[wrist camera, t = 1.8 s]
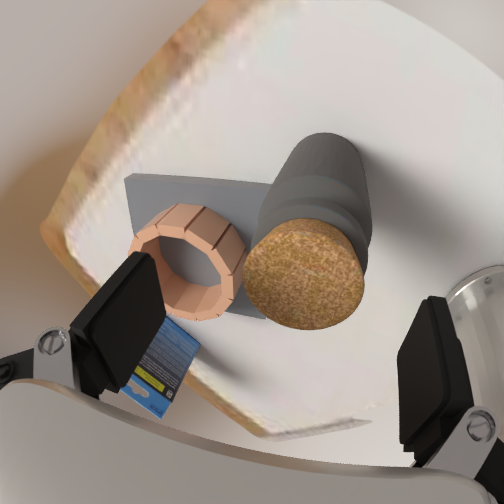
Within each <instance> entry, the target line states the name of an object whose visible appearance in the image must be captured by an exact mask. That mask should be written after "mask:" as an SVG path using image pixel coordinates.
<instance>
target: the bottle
mask: <svg viewBox="0 0 504 504" xmlns="http://www.w3.org/2000/svg"><path fill="white" fill-rule="evenodd" d="M371 236H372V217H371V209H370V203H369V197H368V191H367V185H366V180H365V175H364V170H363V165H362V162H361V158H360V156H359V154H358V152H357V150H356V149H355V147H354V146H353V145H352V144H351V143H350V142H349V141H347V140H346V139H344V138H343V137H341V136H338V135H336V134H332V133H316V134H313V135H310V136H308V137H306V138H304V139H303V140H302V141H300V142H299V143H298V144H297V146H296V147H295V148H294V149H293V151H292V153H291V154H290V156H289V157H288V159H287V161H286V162H285V164H284V166H283V167H282V169H281V171H280V172H279V174H278V176H277V177H276V179H275V181H274V182H273V184H272V186H271V187H270V189H269V191H268V193H267V195H266V197H265V199H264V200H263V202H262V205H261V208H260V211H259V215H258V227H257V229H256V231H255V233H254V236H253V239H252V242H251V252H250V253H249V255H248V256H247V259H246V261H245V264H244V267H243V285H244V289H245V291H246V293H247V295H248V297H249V299H250V301H251V302H252V304H253V305H254V306H255V307H256V308H257V309H258V310H259V311H260V312H261V313H262V314H263V315H265V316H266V317H267V318H269V319H271V320H273V321H274V322H276V323H278V324H281V325H284V326H286V327H289V328H295V329H300V330H317V329H324V328H327V327H331V326H334V325H336V324H338V323H340V322H342V321H344V320H345V319H347V318H348V317H349V316H350V315H351V314H352V313H353V312H354V311H355V310H356V308H357V307H358V305H359V304H360V302H361V299H362V297H363V293H364V286H365V284H364V275H365V272H366V269H367V264H368V247H369V244H370V241H371Z"/></svg>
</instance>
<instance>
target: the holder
mask: <svg viewBox="0 0 504 504" xmlns="http://www.w3.org/2000/svg"><path fill="white" fill-rule="evenodd" d="M124 182H125V188H126V194H127V200H128V206H129V212H130V217H131V223H132V228H133V233H134V238H133V241H132V244H131V247H130V250H129V252H128V255H129V256H130V255H131V254H132V253H133V252H134V251H139V252H145V253H149V254H150V255H151V257H152V258H154V259H155V263H156V268H157V273H158V277H159V282H160V287H161V291H162V296H163V300H164V304H165V309H166V312H168V313H170V314H172V313H173V315H174V316H177V317H181V318H185V319H189V320H193V321H197V320H198V321H203V320H207V319H212V318H217V317H219V315H220V316H221V315H222V314H223V312H224V311H225V312H230V313H235V314H240V315H245V316H250V317H255V318H260V319H266V316H265V315H263V314H262V313H261V312H260V311H259V310H258V309H257V308H256V307H255V306H254V305H253V304H252V302H251V301H250V299H249V297H248V295H247V293H246V291H245V289H244V285H243V267H244V264H245V261H246V259H247V256H248V255H249V253H250V252H251V242H252V239H253V236H254V233H255V231H256V229H257V227H258V215H259V211H260V208H261V205H262V202H263V200H264V199H265V197H266V195H267V193H268V191H269V189H270V187H271V186H272V184H264V183H255V182H245V181H235V180H224V179H212V178H200V177H186V176H171V175H154V174H131V175H130V176H128V177H126V178H125V179H124ZM129 256H128V257H129Z"/></svg>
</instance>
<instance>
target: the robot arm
mask: <svg viewBox="0 0 504 504" xmlns="http://www.w3.org/2000/svg"><path fill="white" fill-rule="evenodd" d="M165 318H166V309H165V304H164V300H163V296H162V291H161V287H160V282H159V277H158V273H157V268H156V263H155V259H154V258H152V257H151V255H150V254H149V253H145V252H139V251H134V252H133V253H132V254H131V255H130V256H129V257H128V258H127V259H126V260H125V261H124V262H123V263H122V265H121V266H120V267H119V268H118V269H117V270H116V271H115V272H114V274H113V275H112V276H111V277H110V278H109V279H108V280H107V281H106V283H105V284H104V285H103V286H102V287H101V288H100V289H99V291H98V292H97V293H96V294H95V295H94V296H93V298H92V299H91V300H90V301H89V302H88V304H87V305H86V306H85V307H84V308H83V310H82V311H81V312H80V313H79V314H78V316H77V317H76V318H75V319H74V321H73V322H72V323H71V324H70V327H71V328H70V330H69V331H67V330H66V329H64V328H62V327H51V328H49V329H46V330H45V331H43V332H42V333H41V334H40V335H39V336H38V337H37V339H36V341H35V345H34V348H32V349H29V350H26V351H23V352H20V353H17V354H14V355H10V356H7V357H4V358H2V359H0V504H504V265H503V266H494V267H489V268H486V269H484V270H481V271H479V272H476V273H475V274H473V275H471V276H470V277H468V278H466V279H465V280H464V281H462V282H461V283H460V284H459V285H457V286H456V287H455V288H454V289H453V290H452V291H451V292H450V294H449V295H448V296H447V298H444V297H437V296H429V297H428V298H427V300H426V299H424V300H423V301H422V303H421V305H420V307H419V309H418V312H417V314H416V316H415V318H414V320H413V323H412V325H411V327H410V329H409V331H408V333H407V335H406V337H405V339H404V341H403V343H402V345H401V347H400V349H399V351H398V355H397V369H398V387H399V422H400V423H399V426H400V427H399V428H400V429H399V432H400V433H399V434H400V435H399V439H400V443H401V444H404V452H414V459H415V461H414V462H413V464H411V466H410V467H384V466H366V465H352V464H341V463H340V464H339V463H330V462H321V461H313V460H306V459H299V458H293V457H287V456H280V455H275V454H270V453H264V452H260V451H255V450H250V449H246V448H241V447H237V446H232V445H228V444H225V443H221V442H217V441H213V440H209V439H205V438H202V437H199V436H195V435H192V434H189V433H186V432H182V431H179V430H176V429H173V428H170V427H167V426H164V425H161V424H158V423H155V422H153V421H150V420H147V419H144V418H141V417H139V416H136V415H133V414H131V413H129V412H126V411H124V410H121V409H119V408H116V407H114V406H111V405H109V404H107V403H104V400H103V395H102V392H103V391H104V389H107V390H110V391H112V392H114V393H118V392H119V390H120V388H123V387H125V386H126V384H127V383H128V381H129V379H130V378H131V376H132V374H133V372H134V371H135V369H136V367H137V366H138V364H139V362H140V361H141V359H142V357H143V356H144V354H145V352H146V350H147V349H148V347H149V345H150V344H151V342H152V340H153V339H154V337H155V336H156V334H157V332H158V331H159V329H160V327H161V326H162V324H163V322H164V321H165Z"/></svg>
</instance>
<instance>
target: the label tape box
mask: <svg viewBox="0 0 504 504" xmlns="http://www.w3.org/2000/svg"><path fill="white" fill-rule="evenodd" d="M199 346H200V344H199V343H198V342H197V341H196V340H194V339H193V338H192V337H191V336H189V335H188V334H187V333H186V332H184V331H183V330H182V329H181V328H179V327H178V326H177V325H175V324H174V323H173V322H172V321H171V320H170V319H168V318H167V317H166V318H165V321H164V322H163V324H162V326H161V327H160V329H159V331H158V332H157V334H156V336H155V337H154V339H153V340H152V342H151V344H150V345H149V347H148V349H147V350H146V352H145V354H144V356H143V357H142V359H141V361H140V362H139V364H138V366H137V367H136V369H135V371H134V372H133V374H132V376H131V378H130V380H132V381H133V382H134V383H136V384H137V385H138V386H140V387H141V388H142V389H144V390H145V391H146V392H147V393H148V397H145V396H143V395H142V394H141V393H135V392H134V390H133V387H131V386H130V385H129V384H128V383H127V384H126V386H125V387H123V388H120V390H121V391H122V392H124V393H125V394H126V395H128V396H129V397H130V398H132V399H133V400H134V401H135V402H137V403H138V404H140V405H141V406H142V407H144V408H145V409H147V410H148V411H149V412H151V413H152V414H153V415H155V416H156V417H158V418H159V419H160V420H162V418H163V416H164V414H165V413H166V411H167V409H168V408H169V406H170V405H171V403H172V402H173V400H174V397H175V395H176V393H177V391H178V389H179V387H180V385H181V383H182V381H183V379H184V377H185V375H186V373H187V371H188V369H189V367H190V365H191V363H192V361H193V359H194V356H195V354H196V353H197V350H198V348H199Z"/></svg>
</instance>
